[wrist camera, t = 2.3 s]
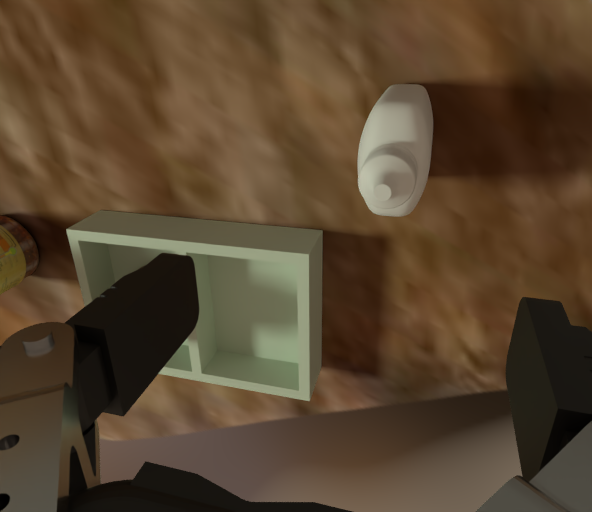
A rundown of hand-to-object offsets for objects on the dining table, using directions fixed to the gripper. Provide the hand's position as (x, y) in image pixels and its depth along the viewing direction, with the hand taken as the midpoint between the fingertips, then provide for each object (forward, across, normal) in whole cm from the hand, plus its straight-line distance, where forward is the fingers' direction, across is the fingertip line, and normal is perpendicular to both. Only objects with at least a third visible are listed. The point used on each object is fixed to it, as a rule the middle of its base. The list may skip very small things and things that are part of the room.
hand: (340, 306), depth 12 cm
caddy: (+20, +14, +13) cm, 28 cm away
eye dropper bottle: (+20, 0, 0) cm, 20 cm away
